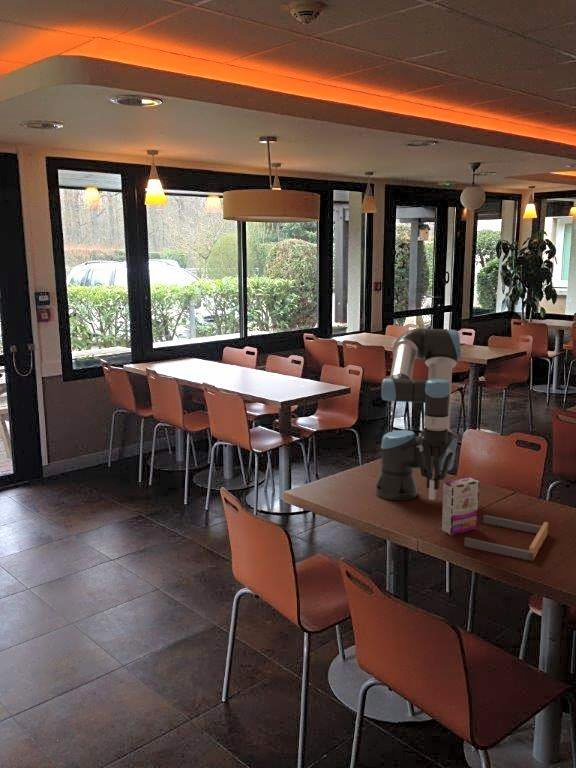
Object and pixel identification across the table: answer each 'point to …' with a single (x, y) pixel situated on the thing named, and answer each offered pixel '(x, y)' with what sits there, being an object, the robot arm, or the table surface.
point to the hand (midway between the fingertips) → (432, 498)
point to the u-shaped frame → (507, 550)
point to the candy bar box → (460, 506)
